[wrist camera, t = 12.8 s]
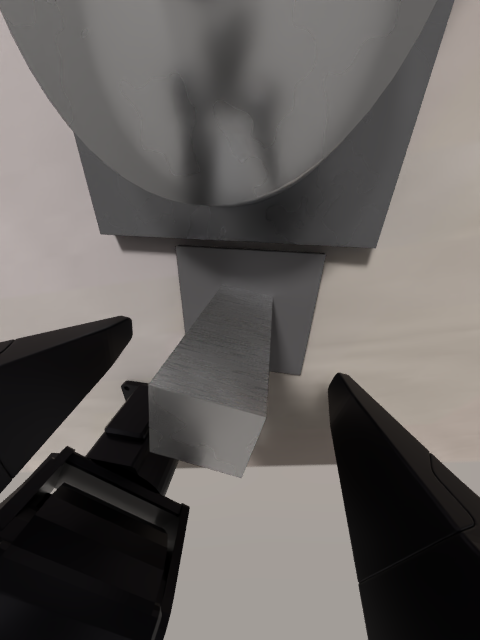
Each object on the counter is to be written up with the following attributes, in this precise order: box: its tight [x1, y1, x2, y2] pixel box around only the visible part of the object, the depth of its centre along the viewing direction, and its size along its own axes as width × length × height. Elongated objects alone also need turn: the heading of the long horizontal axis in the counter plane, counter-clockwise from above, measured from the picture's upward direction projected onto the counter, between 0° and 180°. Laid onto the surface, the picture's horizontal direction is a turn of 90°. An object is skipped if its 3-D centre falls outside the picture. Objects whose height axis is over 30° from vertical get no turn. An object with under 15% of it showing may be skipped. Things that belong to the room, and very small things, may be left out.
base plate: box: [74, 0, 454, 248], centre depth 8 cm, size 14×14×1 cm
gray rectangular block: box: [148, 284, 273, 478], centre depth 9 cm, size 3×3×8 cm
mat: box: [175, 245, 326, 375], centre depth 13 cm, size 8×8×1 cm
